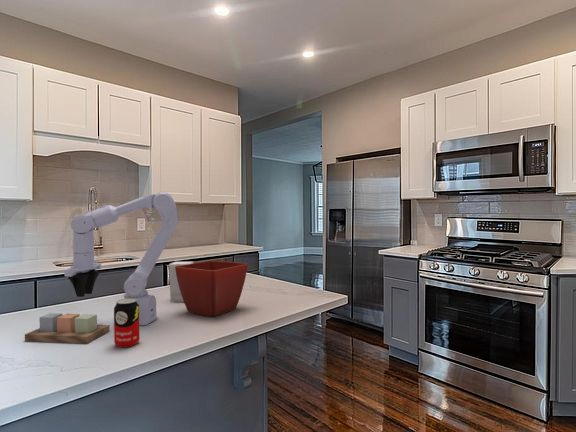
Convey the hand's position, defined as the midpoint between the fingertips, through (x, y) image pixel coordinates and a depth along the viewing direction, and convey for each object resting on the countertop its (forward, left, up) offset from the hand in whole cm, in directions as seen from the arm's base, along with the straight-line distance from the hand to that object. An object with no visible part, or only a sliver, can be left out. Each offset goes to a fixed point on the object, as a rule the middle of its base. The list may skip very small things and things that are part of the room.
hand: (84, 295), depth 113 cm
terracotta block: (-1, +9, -8) cm, 12 cm away
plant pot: (-35, -21, -10) cm, 42 cm away
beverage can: (-22, +13, -10) cm, 27 cm away
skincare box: (-18, -34, -10) cm, 40 cm away
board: (-1, +9, -10) cm, 13 cm away
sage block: (-7, +9, -8) cm, 14 cm away
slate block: (+4, +9, -8) cm, 13 cm away
